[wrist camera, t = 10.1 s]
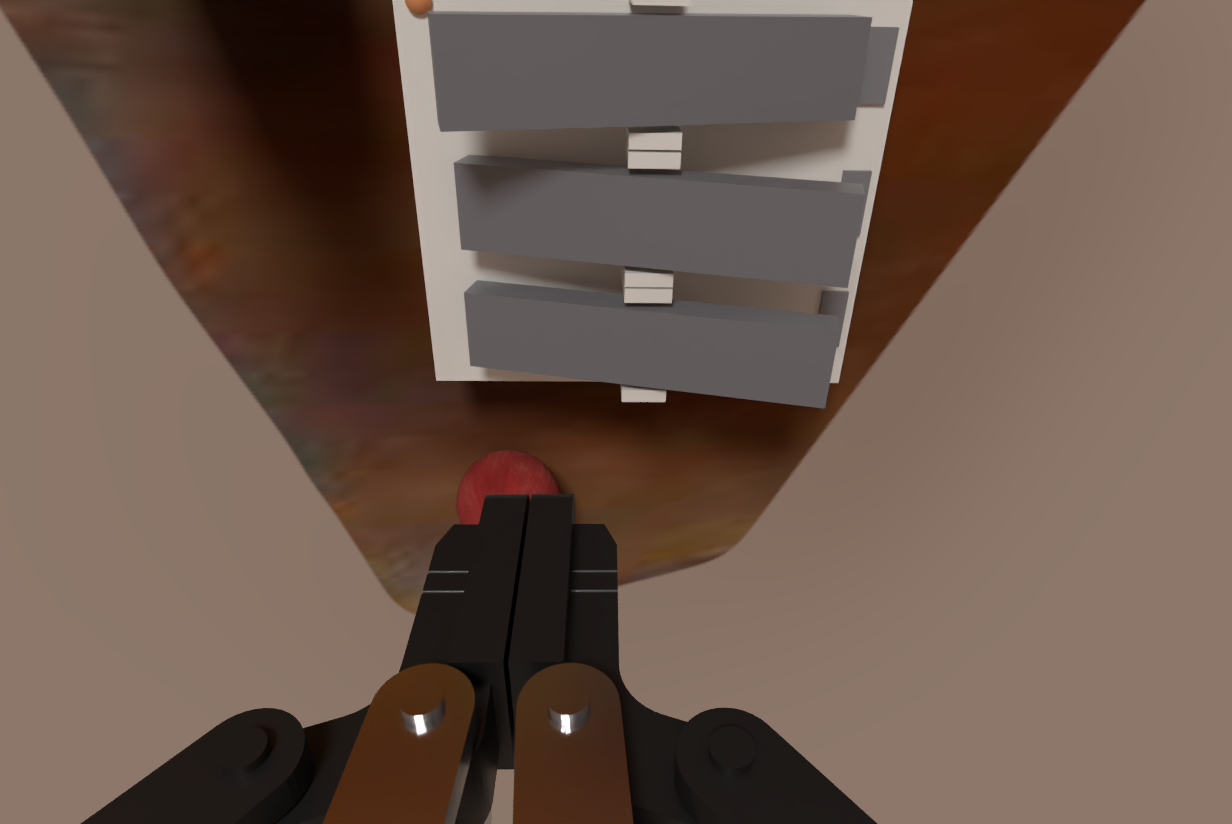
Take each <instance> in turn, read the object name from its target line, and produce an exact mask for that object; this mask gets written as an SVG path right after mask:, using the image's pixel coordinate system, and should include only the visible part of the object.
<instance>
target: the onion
mask: <svg viewBox="0 0 1232 824" xmlns="http://www.w3.org/2000/svg"><path fill="white" fill-rule="evenodd" d="M487 494H529V496H530V500H531V495H532V494H560V491H559V488H558V486H557V483H556V480H555V478H554V475H553V474H552V472H551V471H550V470H549V469H548V468H547V467H546V466H545V465H544V464H543V463H542V462H541V461H540V460H539V459H537V458H535V457H533V456H531V455H530V454H528V453H526V452H523V451H517V450H510V449H508V450H501V451H495V452H492V453H490V454H488V455H486V456H484V457H483V458H481V459H479V460H478V461H476V462H475V463H473V464H472V465H471V467H470V468H469V470H468V471H467V472H466V474H465V475H464V476H463V478H462V480H461V482H460V485H459V489H458V495H457V503H456V510H457V513H458V517H459V520H460V523H461V524H479V521H480V516H481V512H482V507H483V503H484V498H485V496H486V495H487Z"/></svg>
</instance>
